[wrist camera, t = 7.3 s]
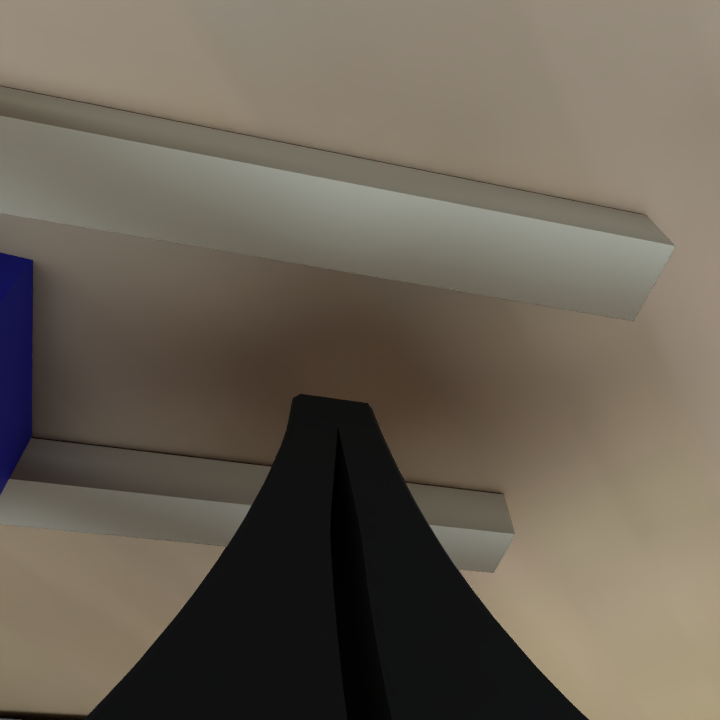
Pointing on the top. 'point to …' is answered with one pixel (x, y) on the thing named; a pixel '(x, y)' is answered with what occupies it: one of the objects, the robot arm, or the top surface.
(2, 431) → the blue cradle block
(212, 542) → the guide channel
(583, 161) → the top surface
